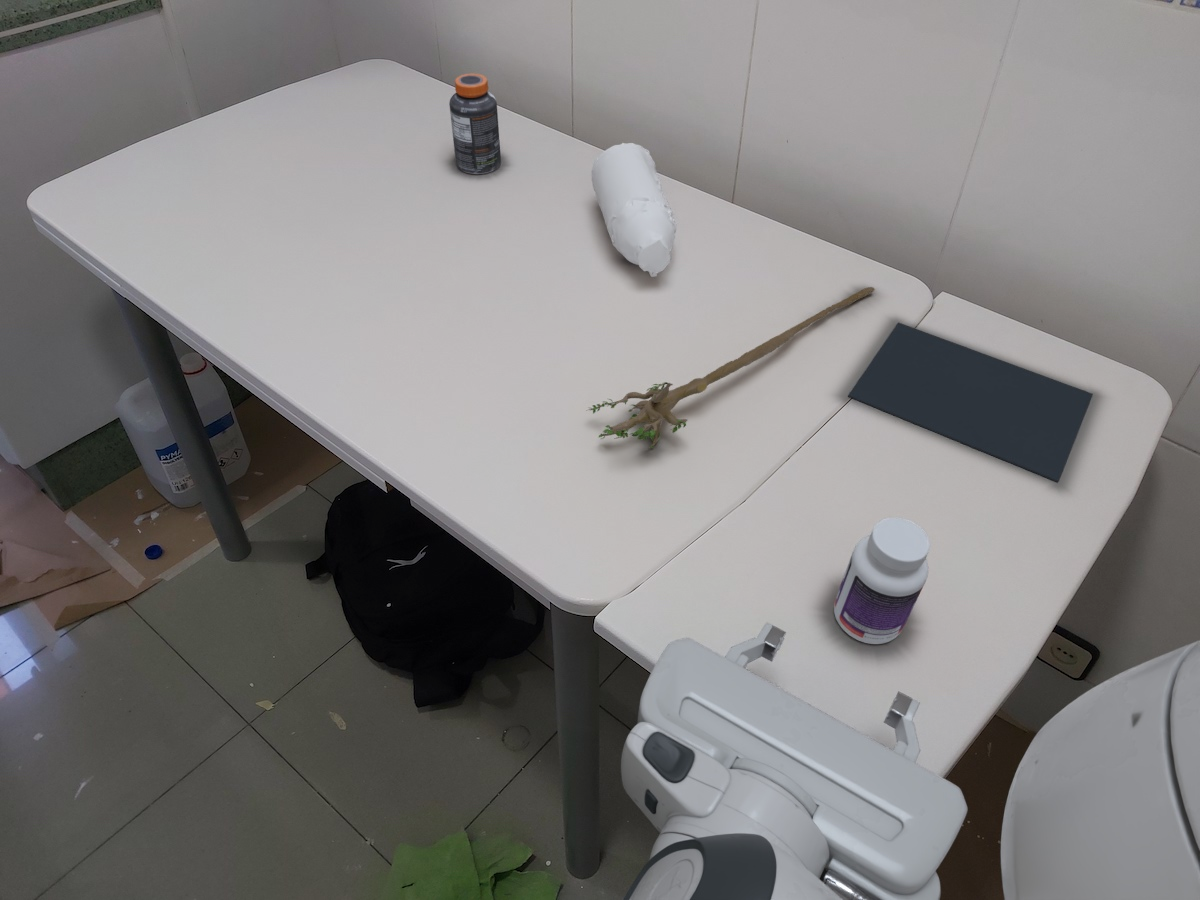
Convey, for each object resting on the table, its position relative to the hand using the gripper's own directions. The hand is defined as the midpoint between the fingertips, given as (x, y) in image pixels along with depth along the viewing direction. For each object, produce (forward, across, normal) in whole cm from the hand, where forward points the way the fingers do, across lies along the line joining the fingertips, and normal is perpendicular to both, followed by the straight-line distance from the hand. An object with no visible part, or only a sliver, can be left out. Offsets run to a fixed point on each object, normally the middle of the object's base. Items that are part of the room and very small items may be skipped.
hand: (839, 664), depth 59 cm
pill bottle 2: (+9, 0, +6) cm, 11 cm away
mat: (+39, +1, +6) cm, 39 cm away
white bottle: (+44, +42, +6) cm, 61 cm away
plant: (+30, +20, +6) cm, 36 cm away
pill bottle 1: (+47, +69, +6) cm, 84 cm away
